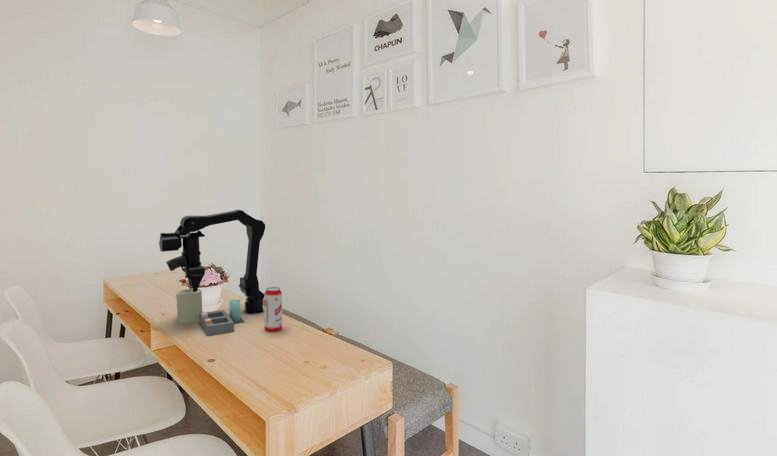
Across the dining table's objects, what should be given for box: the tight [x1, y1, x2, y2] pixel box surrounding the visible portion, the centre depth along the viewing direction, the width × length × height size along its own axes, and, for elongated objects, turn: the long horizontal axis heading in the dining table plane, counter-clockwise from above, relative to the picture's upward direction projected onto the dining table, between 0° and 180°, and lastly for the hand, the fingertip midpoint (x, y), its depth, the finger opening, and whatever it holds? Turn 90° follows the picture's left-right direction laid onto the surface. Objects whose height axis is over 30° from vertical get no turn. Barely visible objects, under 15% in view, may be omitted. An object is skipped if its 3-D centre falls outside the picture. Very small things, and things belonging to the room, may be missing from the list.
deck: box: [234, 317, 246, 325], centre depth 158 cm, size 6×7×1 cm
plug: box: [228, 299, 242, 323], centre depth 158 cm, size 4×4×8 cm
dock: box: [198, 309, 235, 337], centre depth 151 cm, size 9×17×5 cm, turn 34°
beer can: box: [264, 286, 283, 333], centre depth 150 cm, size 6×6×16 cm
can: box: [175, 288, 204, 324], centre depth 158 cm, size 9×9×12 cm
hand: (193, 289), depth 155 cm, fingers open, 9 cm apart
